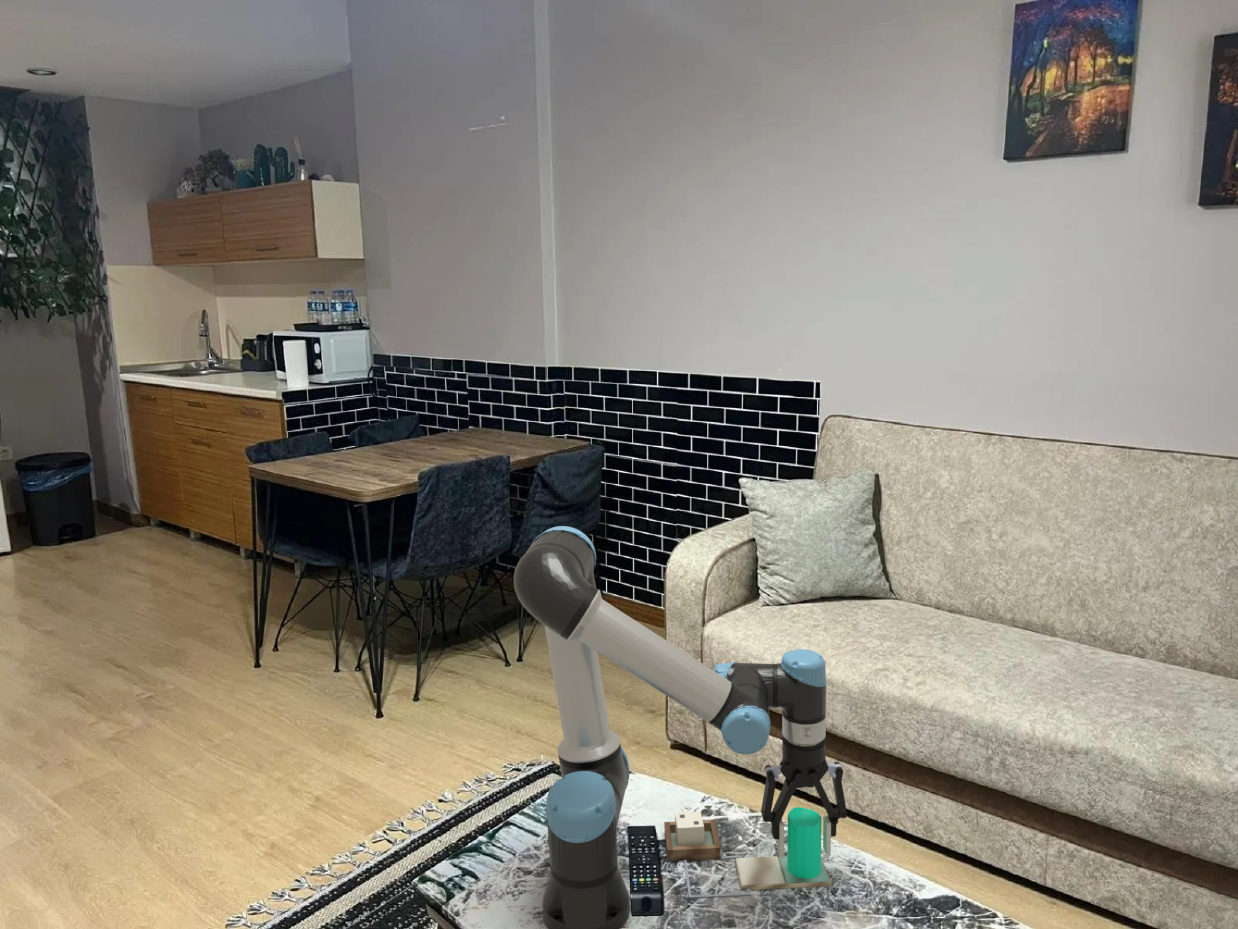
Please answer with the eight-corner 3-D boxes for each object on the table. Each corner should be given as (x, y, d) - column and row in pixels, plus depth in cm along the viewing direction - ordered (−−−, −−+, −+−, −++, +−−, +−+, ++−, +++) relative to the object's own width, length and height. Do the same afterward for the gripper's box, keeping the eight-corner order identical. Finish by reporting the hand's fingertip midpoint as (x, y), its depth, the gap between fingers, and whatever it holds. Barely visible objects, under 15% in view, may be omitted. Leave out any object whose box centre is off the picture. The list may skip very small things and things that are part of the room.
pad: (688, 898, 162) (688, 897, 162) (683, 859, 172) (683, 858, 172) (751, 895, 162) (751, 894, 162) (741, 856, 173) (741, 855, 173)
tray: (667, 861, 172) (667, 850, 171) (664, 833, 181) (664, 822, 180) (720, 859, 172) (720, 847, 172) (715, 830, 181) (715, 819, 180)
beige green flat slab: (741, 890, 163) (741, 885, 163) (735, 862, 171) (734, 857, 171) (830, 886, 163) (831, 881, 163) (820, 858, 171) (820, 853, 171)
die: (678, 852, 174) (677, 828, 173) (675, 836, 179) (674, 812, 178) (704, 850, 174) (704, 826, 173) (701, 834, 179) (700, 811, 178)
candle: (780, 863, 169) (781, 804, 166) (808, 854, 171) (808, 796, 168) (799, 882, 163) (800, 822, 161) (827, 873, 165) (828, 813, 163)
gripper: (748, 750, 158) (750, 868, 163) (867, 745, 158) (866, 862, 163) (742, 729, 165) (744, 842, 170) (856, 724, 165) (854, 837, 170)
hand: (803, 852), depth 166 cm, fingers open, 8 cm apart
